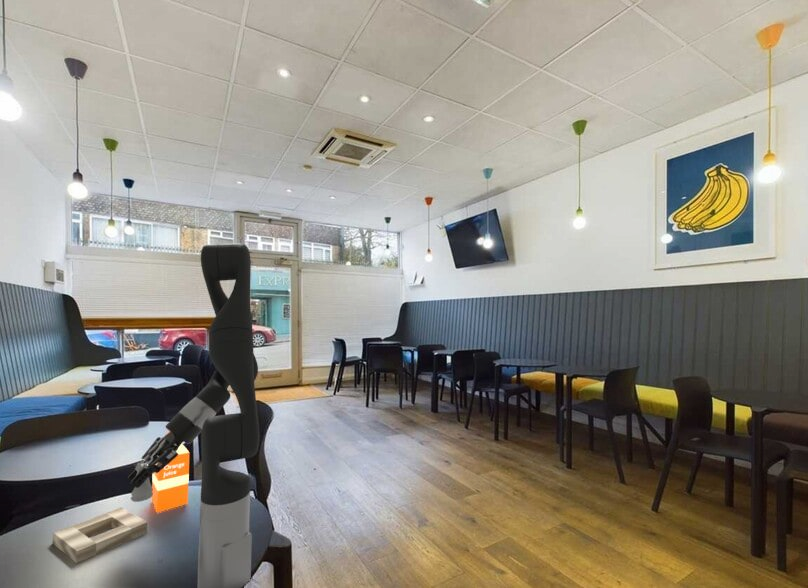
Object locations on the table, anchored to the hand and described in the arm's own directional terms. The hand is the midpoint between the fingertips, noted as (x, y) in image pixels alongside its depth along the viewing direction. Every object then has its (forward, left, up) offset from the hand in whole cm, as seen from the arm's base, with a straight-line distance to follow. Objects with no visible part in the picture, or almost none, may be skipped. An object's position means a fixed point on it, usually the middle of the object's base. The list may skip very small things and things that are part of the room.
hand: (132, 482), depth 88 cm
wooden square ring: (+12, +1, -15) cm, 19 cm away
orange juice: (+16, -17, -15) cm, 28 cm away
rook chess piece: (-1, -2, -4) cm, 5 cm away
